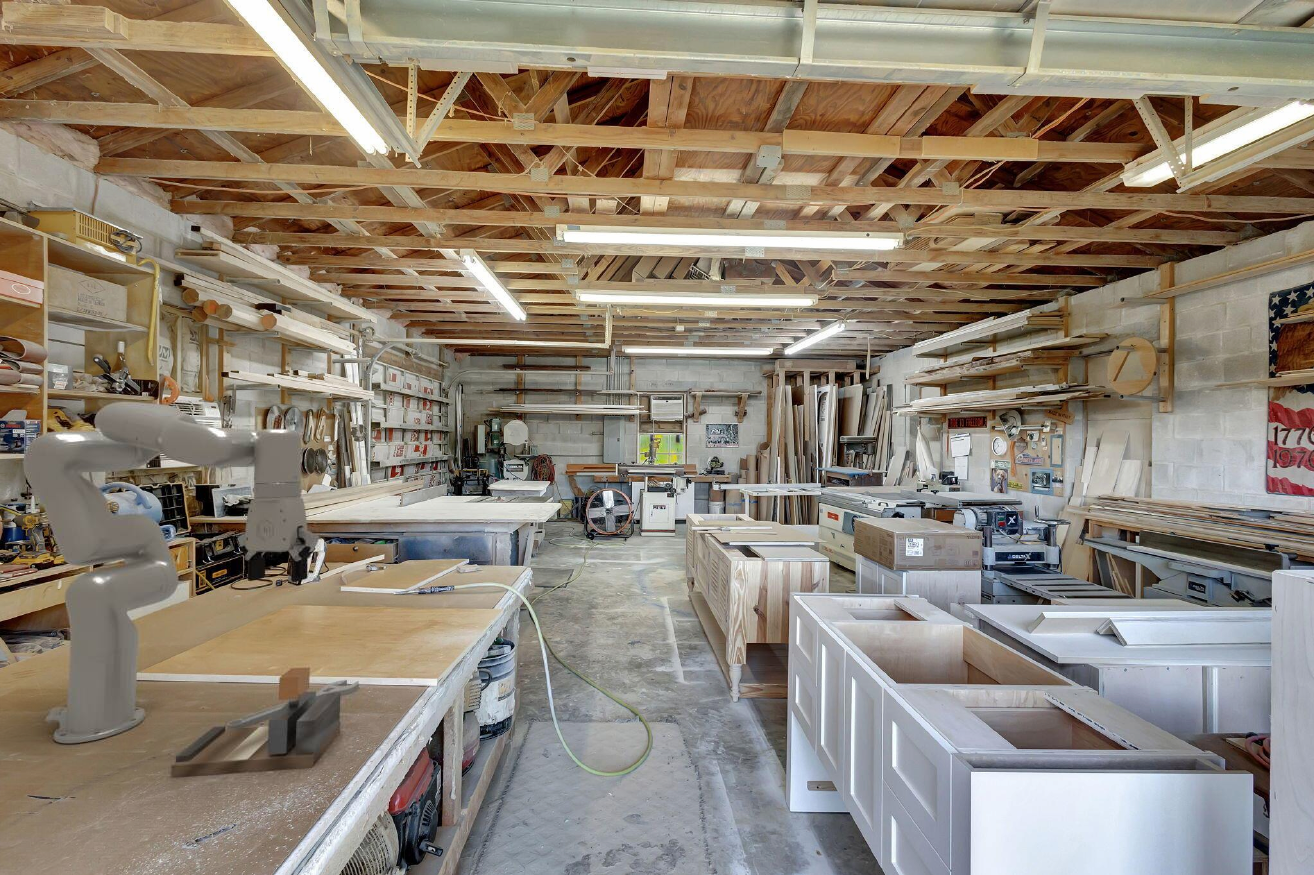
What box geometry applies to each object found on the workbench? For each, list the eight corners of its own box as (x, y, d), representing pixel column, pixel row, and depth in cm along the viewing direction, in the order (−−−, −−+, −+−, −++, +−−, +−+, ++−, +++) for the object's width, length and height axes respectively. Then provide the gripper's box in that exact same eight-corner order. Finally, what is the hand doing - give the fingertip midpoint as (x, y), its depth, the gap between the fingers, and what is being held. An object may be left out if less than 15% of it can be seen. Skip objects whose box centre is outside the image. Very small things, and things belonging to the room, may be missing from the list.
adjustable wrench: (229, 735, 106) (229, 726, 106) (219, 725, 110) (220, 716, 110) (361, 691, 126) (361, 683, 126) (349, 683, 130) (349, 676, 130)
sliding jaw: (266, 754, 94) (269, 685, 95) (297, 723, 105) (300, 661, 105) (286, 753, 95) (289, 684, 95) (315, 722, 106) (317, 660, 106)
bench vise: (170, 777, 91) (173, 729, 91) (216, 740, 103) (218, 697, 103) (312, 767, 95) (313, 721, 95) (340, 732, 107) (341, 691, 107)
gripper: (222, 493, 103) (221, 583, 102) (300, 493, 100) (300, 585, 99) (257, 491, 110) (257, 574, 110) (331, 490, 107) (331, 576, 107)
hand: (277, 579), depth 104 cm, fingers open, 9 cm apart
